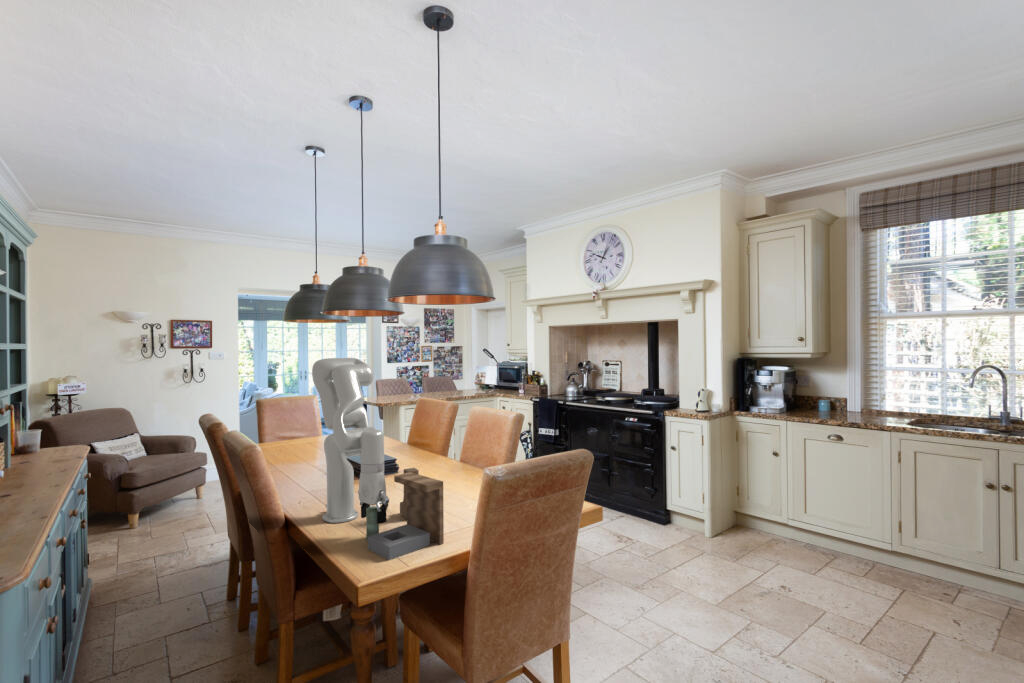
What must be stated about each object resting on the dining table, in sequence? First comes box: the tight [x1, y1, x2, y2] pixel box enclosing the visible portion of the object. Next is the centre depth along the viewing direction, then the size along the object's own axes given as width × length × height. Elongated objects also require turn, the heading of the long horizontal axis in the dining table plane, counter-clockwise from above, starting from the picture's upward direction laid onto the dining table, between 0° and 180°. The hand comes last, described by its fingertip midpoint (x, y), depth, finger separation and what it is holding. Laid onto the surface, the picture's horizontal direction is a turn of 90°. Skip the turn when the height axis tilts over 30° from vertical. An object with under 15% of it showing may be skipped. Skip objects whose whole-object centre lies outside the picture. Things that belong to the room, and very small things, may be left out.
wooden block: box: [399, 467, 420, 520], centre depth 190 cm, size 9×4×18 cm, turn 31°
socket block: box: [367, 523, 431, 561], centre depth 161 cm, size 12×15×4 cm
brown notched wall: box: [393, 472, 445, 545], centre depth 168 cm, size 18×6×20 cm, turn 47°
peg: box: [365, 505, 380, 541], centre depth 169 cm, size 4×4×10 cm
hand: (373, 519), depth 168 cm, fingers open, 9 cm apart
